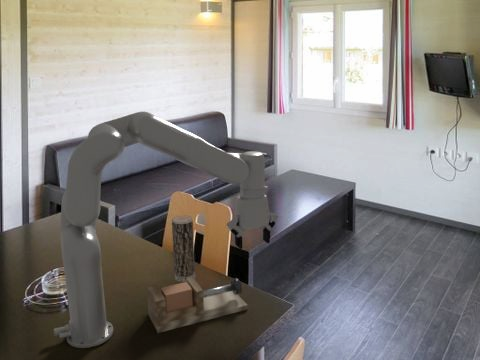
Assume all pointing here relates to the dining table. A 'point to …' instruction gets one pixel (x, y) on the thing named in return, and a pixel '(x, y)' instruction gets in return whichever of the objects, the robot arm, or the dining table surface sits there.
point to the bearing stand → (191, 308)
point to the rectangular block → (177, 296)
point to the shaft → (223, 289)
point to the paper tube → (183, 248)
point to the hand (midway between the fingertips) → (252, 244)
